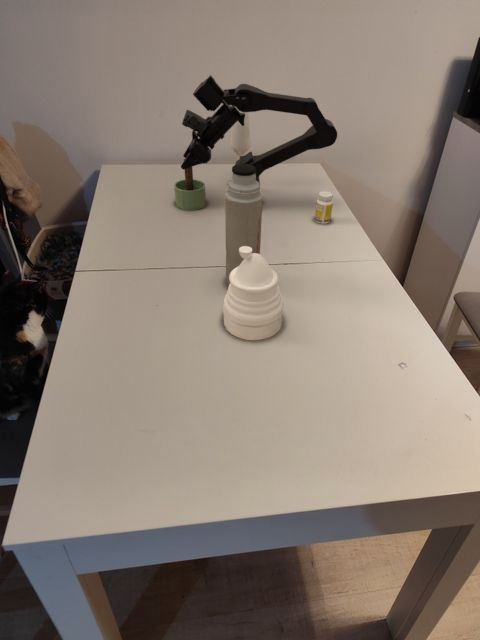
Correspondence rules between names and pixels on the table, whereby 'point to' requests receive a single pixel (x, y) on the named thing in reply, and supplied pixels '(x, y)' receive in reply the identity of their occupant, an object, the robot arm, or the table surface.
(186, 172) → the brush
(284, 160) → the robot arm
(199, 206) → the jar
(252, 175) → the thermos bottle
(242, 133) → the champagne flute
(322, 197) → the supplement bottle
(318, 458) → the table surface
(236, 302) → the honey pot
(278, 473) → the table surface
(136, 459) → the table surface
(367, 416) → the table surface
